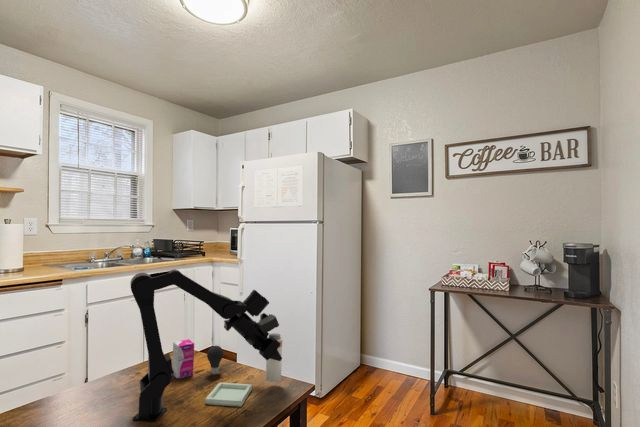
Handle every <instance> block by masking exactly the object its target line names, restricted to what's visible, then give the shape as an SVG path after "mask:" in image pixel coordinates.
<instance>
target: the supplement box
mask: <svg viewBox="0 0 640 427" xmlns="http://www.w3.org/2000/svg"><path fill="white" fill-rule="evenodd" d="M194 358H195V342H193V341H192V340H191V339H190V338H188V339H183V340H177V341H173V343H172V358H171V362H172V368H173V371H174V374H172V377H173V378H175V380H179V379H180V380H181V379H185V378H187V377H188V378H189V377H191V376H192V377H193V375H194V363H195V361H194Z"/></svg>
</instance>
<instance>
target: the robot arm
mask: <svg viewBox="0 0 640 427" xmlns="http://www.w3.org/2000/svg"><path fill="white" fill-rule="evenodd" d="M170 286H176V287H178V288H180V289H181V290H183V291H184V292H186V293H187V294H189V295H191V296H193V297H194V298H196V299H197V300H200V301H201V302H203V303H205V304H206V305H207V306H208V307H210V308H211V309H212V310H213V311H214V312H215V313H216V314H217V315H218V316H220V317H221V318H222V319H224V321H223V323H224V324H223V329H225V331H227V332H229V331H230V330H231V328H233V329H234V330H235V331H236V332H237V333H238V334H239V335H240V336H241V337H242V338H243V339H245V342H247V343H248V345H249V346H252V348H253V349H254V350H256V351H258V354H259V355H260V356H261V357H263V358H264V359H265V360H269V359H274V360H278V361H281V360H282V359H283V356H282V357H281V355H280V354H279V352H278V350H277V349H278V348H279V346H280V343H279V342H278V341H277V340H276V339H275V338H273V337H269V335H270V333H269V332H271V331H272V330H274V329H276V328H278V327H279V326H280V323H279V322H278V319H277V317H276V315H274V314H269V313H268V314H267V313H265V312H263V311H264V310H265V308H267V306H268V305H269V304H270V302H269V300H268V299H267V298H266V297H265V296H263V295H262V294H261V293H260V292H258V291H257V290H256V289H253V290H252V291H251V292H250V294H249V295H248V296H247V297H246V298H245V299H244V300H243V301H242V300H234V299H232V298H230V297H228V296H225V295H222V294H221V293H220V294H219V293H216V292H213V291H211V290H210V289H208V288H206V287H205V286H203V285H202V284H200V283H198V282H197V281H195V280H193V279H191V278H190V277H189V276H187V275H185V274H183V273H182V272H181V271H180V270H179V269H176V268H175V269H170V270H167V271H160V272H154V273H149V274H148V273H147V272H139V273H136V274H135V275H134V276H132V278H131V280H130V290H131V292H132V296H133V297H134V298H133V299H134V300H135V303H136V305H137V308H138V309H139V312H140V313H139V314H140V317H141V318H140V319H141V322H142V327H143V334H144V338H145V343H146V348H147V353H148V354H147V373H146V374H145V375H144V376H142V378H141V379H140V380H139V382H138V383H139V392H140V393H139V397H138V398H139V399H138V412H137V413H136V414H135V415H134V416H133V417H132V420H133V421H142V422H143V421H145V422H157V420H158V419H160V418H161V416H163V414H164V413H166V412H167V410H168V407H165V406H163V399H164V398H163V394H164V392H165V389H166V388H167V387H168V386H169V385H170V383H171V382H172V380H173V375H172V374H174V371H173V368H172V357H171V355H170V352H167V353H166V354H165V353H164V351H163V347H162V346H163V345H162V342H161V336H160V332H159V326H158V322H157V320H158V319H157V316H156V309H155V291H157V290H160V289H161V290H163V289H164V288H167V287H170ZM246 312H247V313H248V314H247V313H246ZM262 312H263V313H262ZM249 315H250V316H251V317H260V318H259V319H258V322H257V321H256V320H254V319H252V318H251V317H250V316H249ZM259 315H260V316H259ZM268 337H269V338H268ZM267 338H268V339H267Z"/></svg>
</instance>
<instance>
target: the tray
mask: <svg viewBox="0 0 640 427" xmlns="http://www.w3.org/2000/svg"><path fill="white" fill-rule="evenodd" d="M252 390H253V384H252V383H251V384H249V383H232V382H218V384H217V385H216V386H215V387H214V388H213V389H212V391H211V392H210V393H209V394H208V395H207V396H206V397H205V399H204V405H212V406H226V407H240V408H241V407H242V406H243V404H244V403H245V401H246V400H247V398H248V396H249V395H250V394H251V392H252Z"/></svg>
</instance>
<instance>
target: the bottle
mask: <svg viewBox="0 0 640 427" xmlns="http://www.w3.org/2000/svg"><path fill="white" fill-rule="evenodd" d="M269 337H273V338H275V339H276V340H277V341H278V342H279V343H280V346H279V348H278V349H277V350H278V352H279V354H280V355H281V357H282V358H283V356H282V355H283V337H282V336H281V334H280V333H269V335H268V336H267V339H268V338H269ZM265 360H266V359H265ZM265 363H266V365H265V367H266V368H265V379H266V381H269V382H277V381H280V380H281V379H282V360H281V361H278V360H274V359H269V360H266V362H265Z"/></svg>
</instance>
